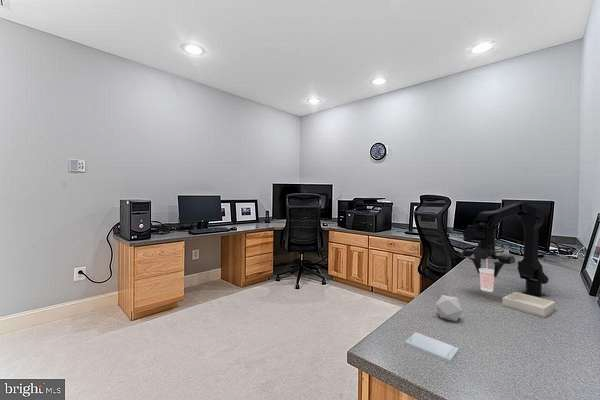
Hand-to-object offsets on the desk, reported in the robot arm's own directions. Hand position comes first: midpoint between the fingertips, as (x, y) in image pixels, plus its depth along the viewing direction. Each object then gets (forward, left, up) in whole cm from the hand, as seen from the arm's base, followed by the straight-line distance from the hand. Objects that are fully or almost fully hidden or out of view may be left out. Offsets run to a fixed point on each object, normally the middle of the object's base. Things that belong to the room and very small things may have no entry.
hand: (486, 275), depth 117 cm
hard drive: (+59, +10, -11) cm, 61 cm away
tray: (-2, +14, -10) cm, 17 cm away
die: (+35, +2, -10) cm, 37 cm away
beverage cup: (0, 0, -7) cm, 7 cm away
